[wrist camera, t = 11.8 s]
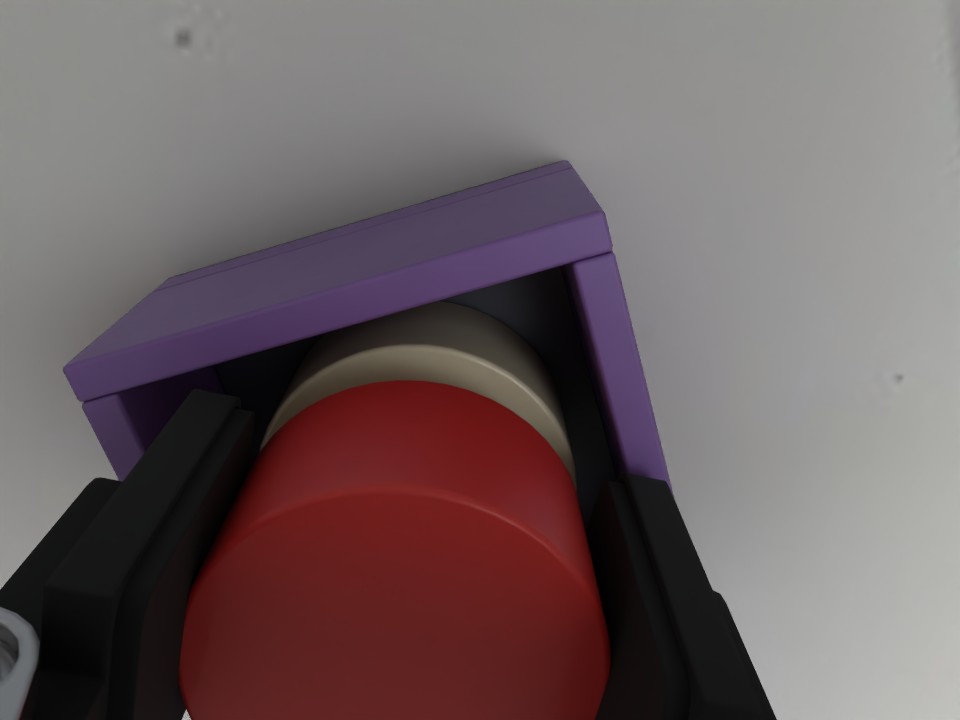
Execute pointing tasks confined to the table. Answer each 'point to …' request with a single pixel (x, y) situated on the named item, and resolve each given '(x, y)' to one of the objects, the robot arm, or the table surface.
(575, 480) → the cream token
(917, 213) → the table surface
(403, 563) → the cylinder
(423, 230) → the purple two-slot tray
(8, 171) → the table surface
